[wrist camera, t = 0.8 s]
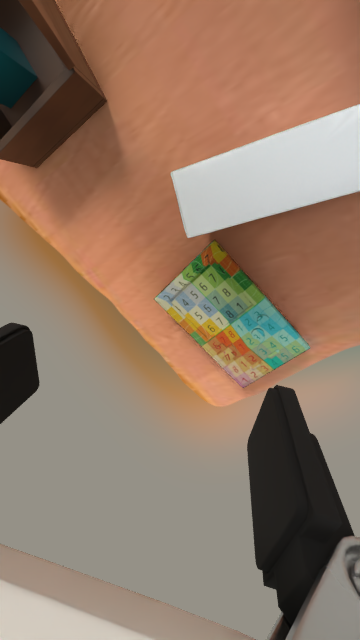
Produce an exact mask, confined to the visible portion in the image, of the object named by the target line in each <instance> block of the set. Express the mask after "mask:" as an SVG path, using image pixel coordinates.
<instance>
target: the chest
mask: <svg viewBox="0 0 360 640" xmlns="http://www.w3.org/2000/svg"><path fill="white" fill-rule="evenodd" d="M40 1H41V3H42V4H43V6H44V8H45V10H46V12H47V14H48V16H49V17H50V19H51V21H52V23H53V25H54V27H55V29H56V30H57V32H58V34H59V36H60V38H61V40H62V42H63V43H64V45H65V47H66V49H67V51H68V53H69V55H70V56H71V58H72V60H73V62H74V64H75V66H74V67H73V68H72V69H71V70H68V69H67V67H66V66H65V65H64V63H63V62H62V60H61V59H60V58H59V56H58V55H57V54H56V52H55V51H54V49H53V48H52V47H51V45H50V44H49V42H48V41H47V40H46V38H45V37H44V35H43V34H42V33H41V31H40V30H39V28H38V27H37V26H36V24H35V23H34V22H33V20H32V19H31V17H30V16H29V15H28V13H27V12H26V10H25V9H24V8H23V6H22V5H21V3H20V2H19V1H18V0H0V28H2V29H3V30H4V31H5V32H7V33H8V34H9V35H10V36H11V37H13V38H14V39H15V40H16V41H17V43H18V44H19V46H20V48H21V50H22V51H23V53H24V55H25V56H26V58H27V60H28V62H29V63H30V65H31V67H32V68H33V70H34V72H35V74H36V75H37V77H38V78H37V79H36V80H35V81H34V82H33V84H32V85H31V86H30V87H29V88H28V89H27V90H26V92H25V93H24V94H23V95H22V96H21V97H20V99H19V100H18V101H17V102H16V103H15V104H14V105H13V107H12V108H9V107H7V106H4V105H2V104H0V159H2V160H6V161H10V162H14V163H18V164H23V165H27V166H31V167H35V168H37V167H38V166H39V165H40V164H41V163H42V162H43V161H44V160H45V159H46V158H47V157H49V156H50V155H51V154H52V153H53V152H54V151H55V150H56V149H57V148H58V147H59V146H60V145H61V144H62V143H63V142H64V141H65V140H66V139H67V138H69V137H70V136H71V135H72V134H73V133H74V132H75V131H76V130H77V129H78V128H79V127H80V126H81V125H82V124H83V123H84V122H85V121H86V120H87V119H89V118H90V117H91V116H92V115H93V114H94V113H95V112H96V111H97V110H98V109H99V108H100V107H101V106H102V105H103V104H104V103H105V102H106V101H107V100H106V98H105V96H104V94H103V92H102V90H101V88H100V86H99V84H98V82H97V81H96V79H95V77H94V75H93V73H92V71H91V69H90V67H89V65H88V63H87V62H86V60H85V58H84V56H83V54H82V52H81V50H80V48H79V46H78V44H77V43H76V41H75V39H74V37H73V35H72V33H71V31H70V29H69V27H68V25H67V24H66V22H65V20H64V18H63V16H62V14H61V12H60V10H59V8H58V6H57V4H56V3H55V1H54V0H40Z"/></svg>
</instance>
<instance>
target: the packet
mask: <svg viewBox="0 0 360 640" xmlns="http://www.w3.org/2000/svg"><path fill="white" fill-rule="evenodd" d="M37 78H38V77H37V75H36V74H35V72H34V70H33V68H32V67H31V65H30V63H29V62H28V60H27V58H26V56H25V55H24V53H23V51H22V50H21V48H20V46H19V44H18V43H17V41H16V40H15V39H14V38H13V37H11V36H10V35H9V34H8V33H7V32H5V31H4V30H3V29H2V28H0V104H2V105H4V106H7V107H9V108H12V107H13V105H14V104H15V103H16V102H17V101H18V100H19V99H20V97H21V96H22V95H23V94H24V93H25V92H26V90H27V89H28V88H29V87H30V86H31V85H32V84H33V82H34V81H35V80H36V79H37Z"/></svg>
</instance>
